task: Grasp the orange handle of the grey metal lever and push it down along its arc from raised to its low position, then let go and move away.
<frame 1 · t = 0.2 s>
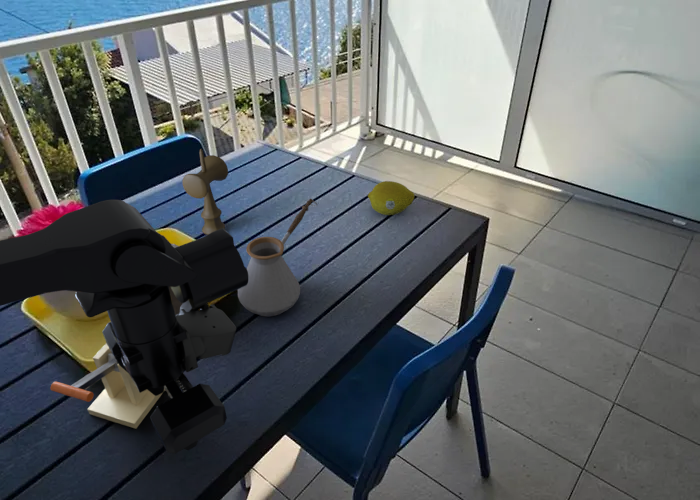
hand: (174, 418, 58), 13 cm above the table, tool pointing down, fingers open, 9 cm apart
lever: (100, 372, 68), point 9 cm above the table, hinge at 20.0°
coffee pot: (285, 288, 97), on the table
bracket: (134, 394, 76), on the table
kendama: (214, 231, 112), on the table
pillar candle: (171, 320, 89), on the table
lemon: (389, 213, 120), on the table
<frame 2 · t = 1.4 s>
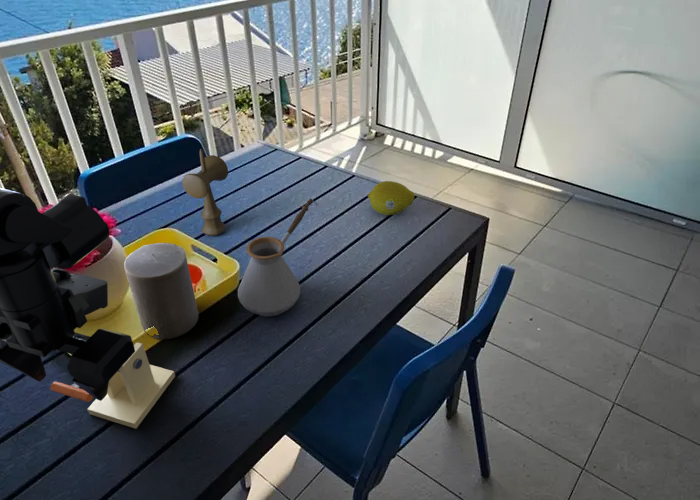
hand: (72, 387, 62), 12 cm above the table, tool pointing down, fingers open, 9 cm apart
nothing on the table moved.
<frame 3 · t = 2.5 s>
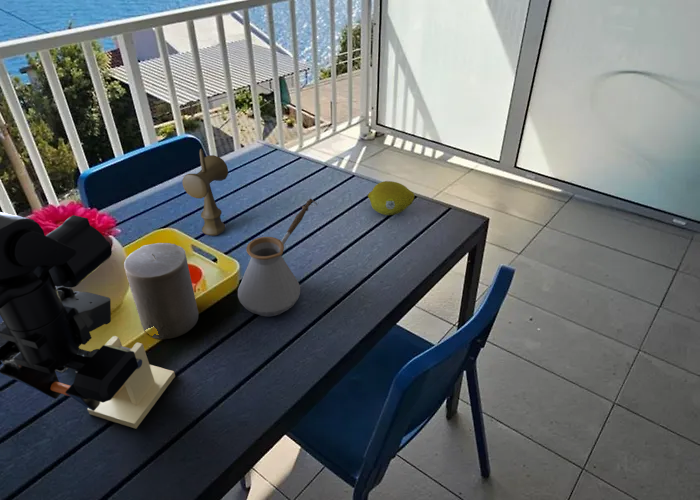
hand: (76, 401, 64), 9 cm above the table, tool pointing down, fingers closed on lever, 5 cm apart
lever: (100, 372, 68), point 9 cm above the table, hinge at 20.0°, touching gripper
everything else where it was.
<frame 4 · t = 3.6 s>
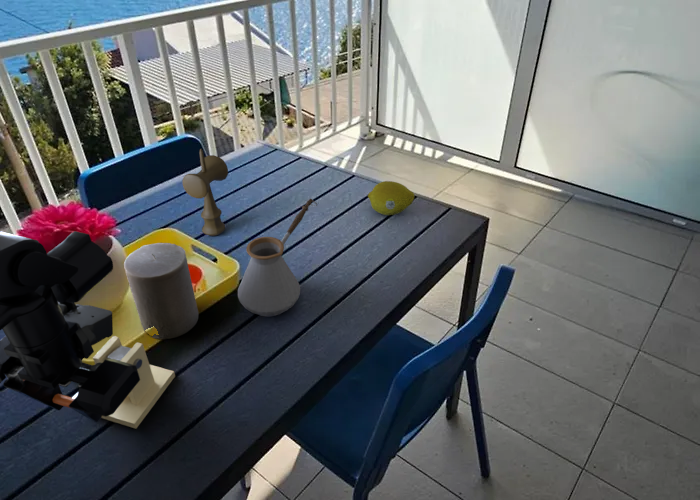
hand: (79, 413, 65), 7 cm above the table, tool pointing down, fingers closed on lever, 5 cm apart
lever: (100, 378, 68), point 9 cm above the table, hinge at 7.5°, touching gripper
everything else where it was.
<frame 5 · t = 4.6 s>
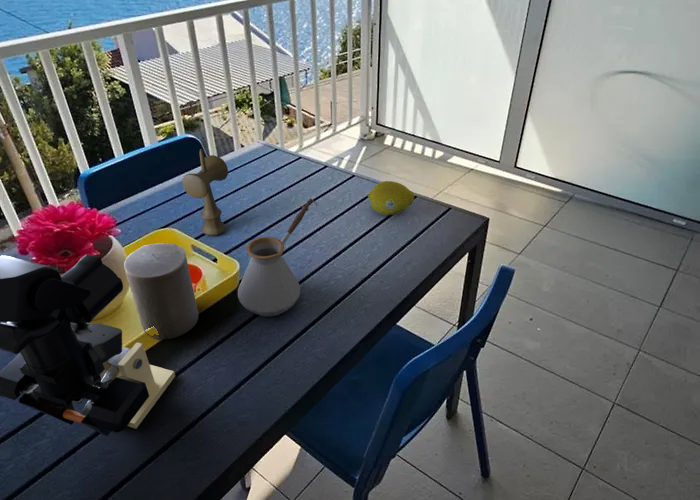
hand: (90, 427, 68), 3 cm above the table, tool pointing down, fingers closed on lever, 5 cm apart
lever: (104, 385, 69), point 7 cm above the table, hinge at -15.1°, touching gripper
everything else where it was.
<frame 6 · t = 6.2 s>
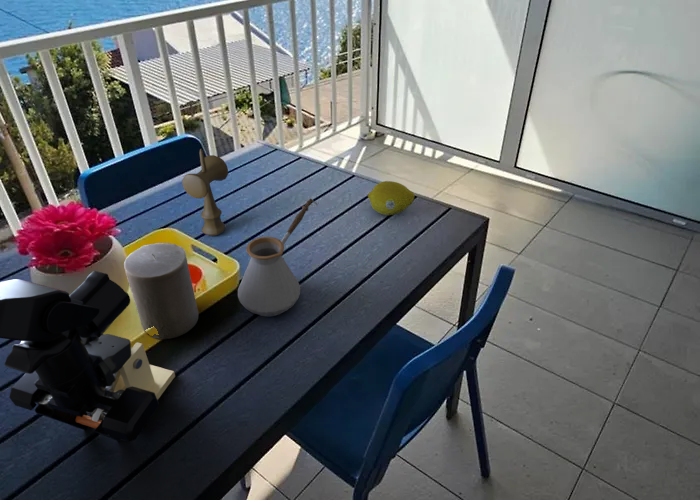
hand: (104, 432, 71), 0 cm above the table, tool pointing down, fingers closed on lever, 5 cm apart
lever: (109, 387, 70), point 6 cm above the table, hinge at -34.1°, touching gripper
everything else where it was.
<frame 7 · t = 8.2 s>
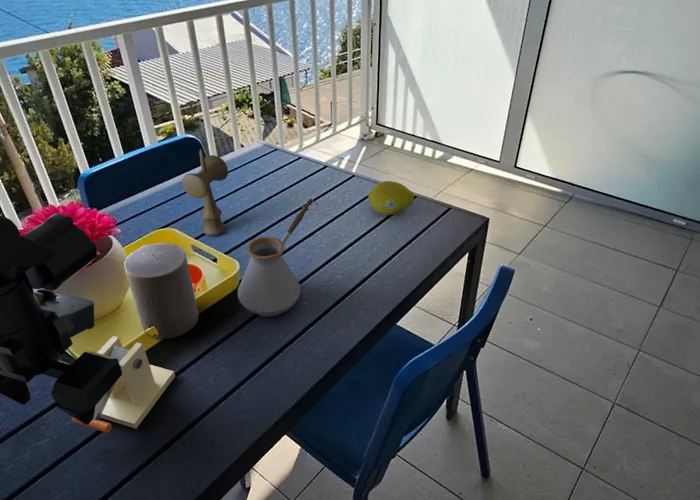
hand: (57, 411, 60), 11 cm above the table, tool pointing down, fingers open, 9 cm apart
lever: (108, 387, 70), point 6 cm above the table, hinge at -28.8°
everything else where it was.
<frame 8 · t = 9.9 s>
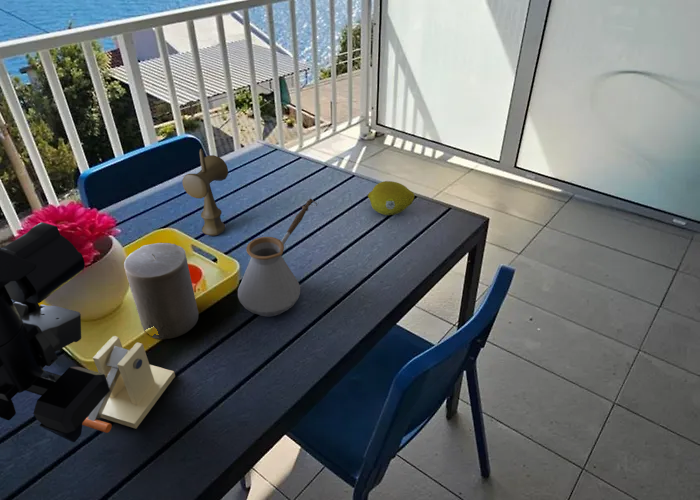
hand: (43, 427, 58), 12 cm above the table, tool pointing down, fingers open, 9 cm apart
nothing on the table moved.
at the end: lever at -29° (first picture: +20°); the gripper is holding nothing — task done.
